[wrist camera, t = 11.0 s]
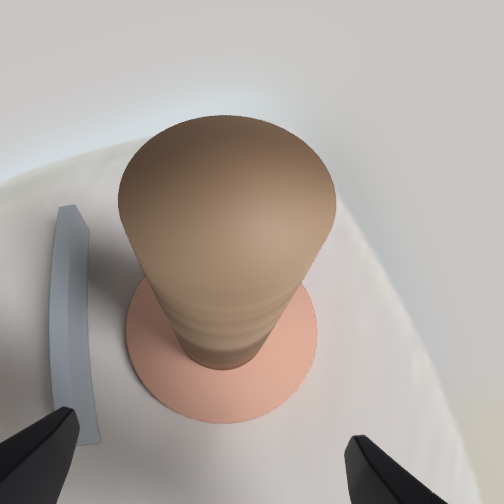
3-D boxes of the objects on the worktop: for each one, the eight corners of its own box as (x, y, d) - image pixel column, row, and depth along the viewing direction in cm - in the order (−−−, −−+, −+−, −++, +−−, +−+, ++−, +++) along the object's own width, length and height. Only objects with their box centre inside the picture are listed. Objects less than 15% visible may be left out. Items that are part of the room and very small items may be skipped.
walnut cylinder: (274, 362, 17) (366, 267, 6) (183, 376, 16) (115, 301, 6) (256, 279, 19) (301, 112, 9) (172, 291, 18) (125, 126, 8)
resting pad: (313, 426, 16) (316, 426, 15) (117, 407, 15) (113, 407, 15) (312, 253, 21) (315, 249, 21) (146, 237, 20) (145, 233, 20)
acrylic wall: (100, 442, 14) (79, 445, 11) (82, 441, 14) (59, 445, 11) (89, 229, 20) (75, 204, 18) (74, 232, 20) (58, 207, 17)
